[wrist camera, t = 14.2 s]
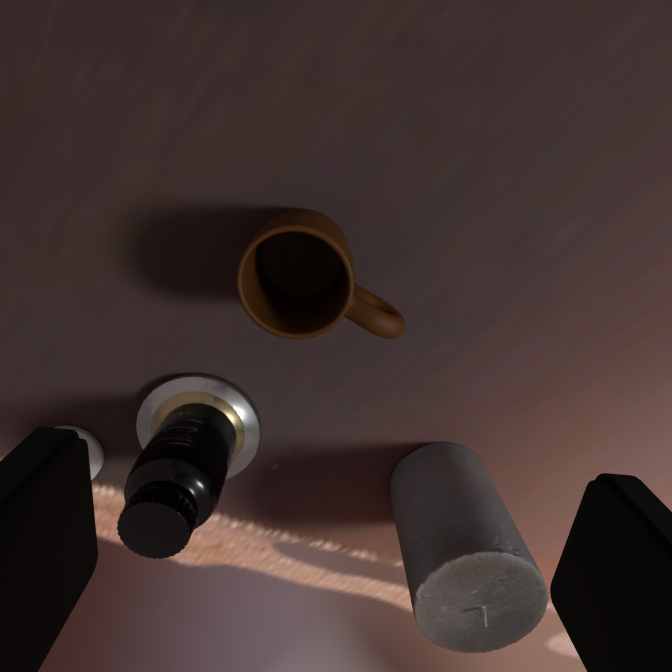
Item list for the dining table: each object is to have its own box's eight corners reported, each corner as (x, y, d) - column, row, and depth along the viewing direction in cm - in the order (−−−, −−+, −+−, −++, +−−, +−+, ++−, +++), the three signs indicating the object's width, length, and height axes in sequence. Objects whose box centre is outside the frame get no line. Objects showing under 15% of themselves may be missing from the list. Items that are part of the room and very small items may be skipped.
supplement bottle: (248, 456, 43) (219, 562, 31) (177, 471, 43) (123, 580, 32) (224, 391, 40) (184, 481, 29) (150, 408, 41) (82, 502, 29)
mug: (413, 260, 38) (440, 291, 29) (368, 338, 40) (380, 388, 31) (280, 189, 36) (264, 198, 27) (240, 275, 38) (213, 310, 29)
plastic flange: (35, 422, 42) (27, 429, 41) (102, 427, 43) (96, 435, 42) (42, 476, 44) (35, 484, 43) (106, 481, 45) (100, 489, 44)
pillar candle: (468, 528, 48) (529, 680, 34) (376, 514, 47) (400, 663, 33) (500, 449, 44) (582, 580, 30) (402, 431, 44) (439, 558, 29)
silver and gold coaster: (138, 367, 41) (132, 373, 39) (264, 378, 41) (262, 385, 40) (142, 471, 44) (138, 479, 43) (258, 480, 45) (256, 488, 44)
